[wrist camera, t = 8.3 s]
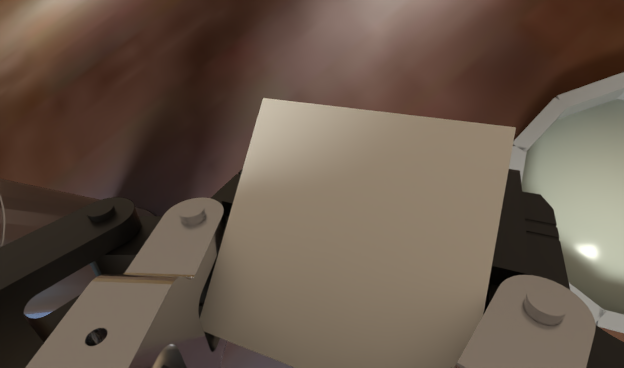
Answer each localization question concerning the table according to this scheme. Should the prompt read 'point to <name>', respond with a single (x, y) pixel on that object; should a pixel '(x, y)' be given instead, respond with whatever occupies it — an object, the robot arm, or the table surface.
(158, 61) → the table surface
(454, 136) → the cream rectangular block
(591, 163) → the round tray
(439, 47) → the table surface
